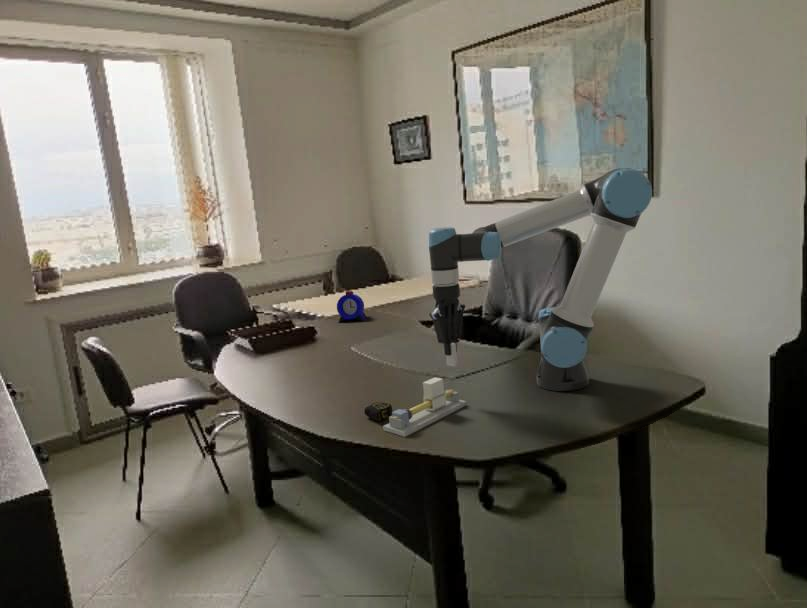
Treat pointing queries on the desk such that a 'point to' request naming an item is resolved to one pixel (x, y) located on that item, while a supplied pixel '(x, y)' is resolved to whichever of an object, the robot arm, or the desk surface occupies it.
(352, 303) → the alarm clock
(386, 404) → the tape measure
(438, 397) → the white rectangular block
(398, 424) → the threaded rod slide
